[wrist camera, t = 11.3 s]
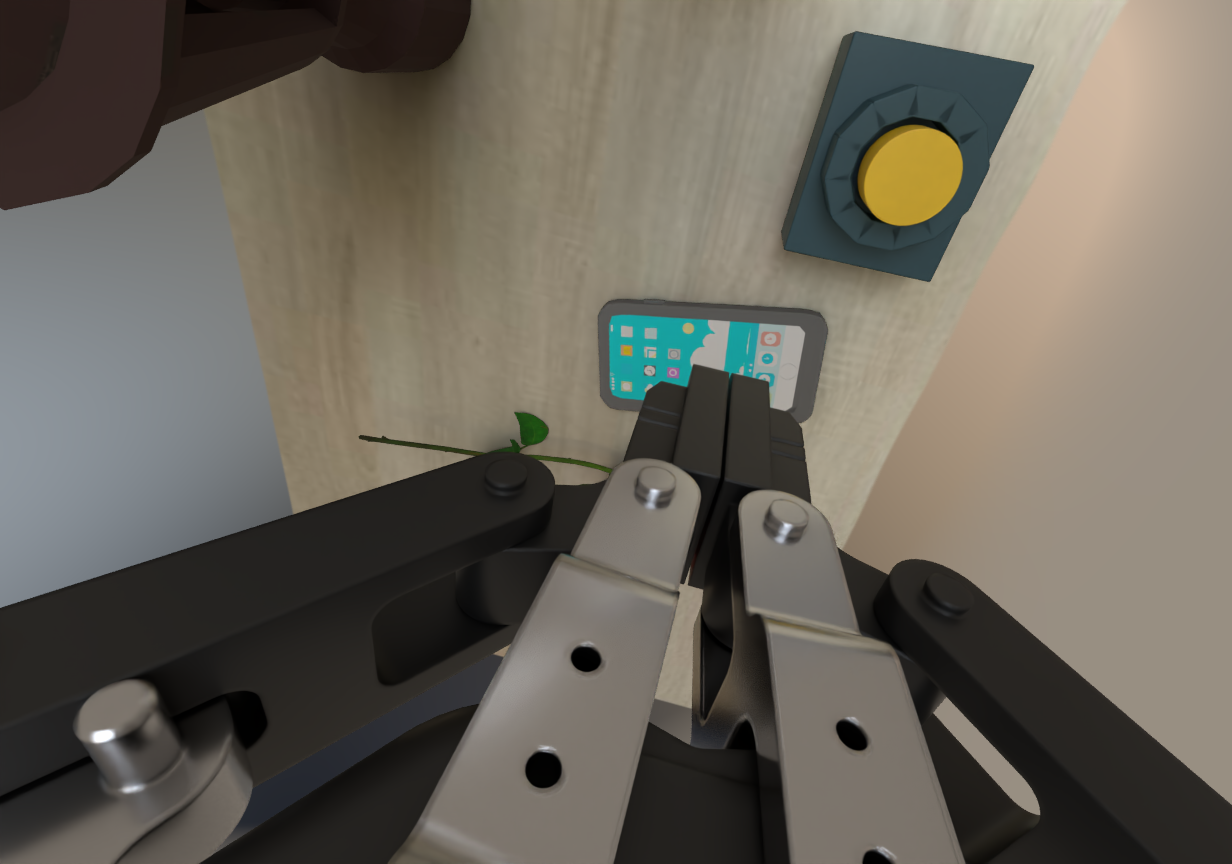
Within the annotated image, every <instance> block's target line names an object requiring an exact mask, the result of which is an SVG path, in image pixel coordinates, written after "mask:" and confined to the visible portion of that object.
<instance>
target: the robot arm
mask: <svg viewBox="0 0 1232 864" xmlns="http://www.w3.org/2000/svg"><path fill="white" fill-rule="evenodd" d="M803 446H804V441H803V434H802V428H801V427H800V426H799V424H798V423H797V422H796V420H795V419H794V418H793V416H792V415H791V414H790V412H788V411H783V410H779V409H775V408H771V407H770V393H769V382H768V381H764V380H760V379H756V378H752V377H748V376H744V375H739V374H735V373H731V375H730V378H729V372H727V371H722V370H718V369H714V368H710V367H706V366H702V365H697V364H693V366H692V370H691V373H690V377H689V381H688V384H687V387H685V386H681V385H677V384H672V383H668V382H664V381H660V382H659V383H658V384H656V385H655V386H653V387H652V388H650V389H649V390H647V392H646V395H645V398H644V401H643V404H642V408H641V410H640V413H639V416H638V420H637V422H636V425H635V428H634V431H633V434H632V437H631V440H630V442H629V445H628V448H627V451H626V454H625V457H624V460H623V462H622V463H621V464H619V465H617V466H616V467H615V468H614V469H613V470H612V472H611V473H610V475H609V478H608V479H607V480H604V481H602V482H599V483H595V484H589V485H555V480H554V476H553V475H552V473H551V471H550V470H549V469H548V468H547V466H545V465H544V464H543V463H542V462H540V461H538V460H537V459H535V458H533V457H530V456H528V455H524V454H521V453H515V452H506V451H503V452H490V453H486V454H482V455H478V456H475V457H472V458H469V459H466V460H463V461H460V462H456V463H453V464H450V465H447V466H444V467H441V468H438V469H434V470H431V471H428V472H425V473H422V474H419V475H416V476H413V477H409V478H406V479H403V480H400V481H397V482H394V483H391V484H387V485H384V486H381V487H378V488H375V489H372V490H369V491H365V492H362V493H359V494H356V495H353V496H350V497H347V498H344V499H340V500H337V501H334V502H331V503H328V504H325V505H322V506H318V507H315V508H312V509H309V510H306V511H303V512H300V513H297V514H293V515H290V516H287V517H284V518H281V519H278V520H275V521H272V522H268V523H265V524H262V525H259V526H256V527H253V528H249V529H246V530H243V531H240V532H237V533H234V534H231V535H228V536H225V537H221V538H218V539H215V540H212V541H209V542H206V543H203V544H200V545H196V546H193V547H190V548H187V549H184V550H181V551H177V552H174V553H171V554H168V555H165V556H162V557H159V558H156V559H152V560H149V561H146V562H143V563H140V564H137V565H134V566H130V567H127V568H124V569H121V570H118V571H115V572H112V573H108V574H105V575H102V576H99V577H96V578H93V579H90V580H87V581H83V582H80V583H77V584H74V585H71V586H68V587H64V588H62V589H59V590H55V591H52V592H49V593H46V594H43V595H40V596H36V597H33V598H30V599H27V600H24V601H21V602H17V603H15V604H11V605H8V606H5V607H2V608H0V864H1232V805H1231V804H1230V803H1229V802H1228V801H1226V800H1225V799H1224V798H1223V797H1222V796H1221V795H1219V794H1218V793H1217V792H1216V791H1215V790H1214V789H1212V788H1211V787H1210V786H1209V785H1208V784H1206V783H1205V782H1204V781H1203V780H1202V779H1201V778H1200V777H1198V776H1197V775H1196V774H1195V773H1194V772H1192V771H1191V770H1190V769H1189V768H1188V767H1187V766H1186V765H1184V764H1183V763H1182V762H1181V761H1180V760H1179V759H1177V758H1176V757H1175V756H1174V755H1173V754H1172V753H1170V752H1169V751H1168V750H1167V749H1166V748H1165V747H1163V746H1162V745H1161V744H1160V743H1159V742H1157V741H1156V740H1155V739H1154V738H1153V737H1152V736H1150V735H1149V734H1148V733H1147V732H1146V731H1145V730H1144V729H1142V728H1141V727H1140V726H1139V725H1138V724H1137V723H1135V722H1134V721H1133V720H1132V719H1131V718H1129V717H1128V716H1127V715H1126V714H1125V713H1124V712H1123V711H1121V710H1120V709H1119V708H1118V707H1117V706H1116V705H1114V704H1113V703H1112V702H1111V701H1110V700H1109V699H1107V698H1106V697H1105V696H1104V695H1103V694H1102V693H1100V692H1099V691H1098V690H1097V689H1096V688H1095V687H1093V686H1092V685H1091V684H1090V683H1089V682H1087V681H1086V680H1085V679H1084V678H1083V677H1082V676H1080V675H1079V674H1078V673H1077V672H1076V671H1075V670H1074V669H1072V668H1071V667H1070V666H1069V665H1068V664H1067V663H1065V662H1064V661H1063V660H1062V659H1061V658H1060V657H1058V656H1057V655H1056V654H1055V653H1054V652H1053V651H1051V650H1050V649H1049V648H1048V647H1047V646H1046V645H1044V644H1043V643H1042V642H1041V641H1040V640H1039V639H1037V638H1036V637H1035V636H1034V635H1033V634H1031V633H1030V632H1029V631H1028V630H1027V629H1026V628H1025V627H1023V626H1022V625H1021V624H1020V623H1019V622H1018V621H1016V620H1015V619H1014V618H1013V617H1012V616H1010V615H1009V614H1008V613H1007V612H1006V611H1005V610H1004V609H1002V608H1001V607H1000V606H999V605H998V604H997V603H995V602H994V601H993V600H992V599H991V598H990V597H988V596H987V595H986V594H985V593H984V592H982V591H981V590H980V589H979V588H978V587H976V585H974V584H973V583H972V582H971V581H969V580H968V579H966V578H965V577H963V576H962V575H960V574H959V573H957V572H955V571H953V570H951V569H949V568H947V567H945V566H943V565H940V564H937V563H934V562H930V561H926V560H919V559H909V560H905V561H901V562H899V563H897V564H896V565H895V566H894V567H893V569H892V570H891V572H890V574H889V575H888V574H886V573H883V572H881V571H880V570H878V569H876V568H873V567H871V566H869V565H867V564H865V563H863V562H861V561H859V560H857V559H855V558H853V557H852V556H850V555H848V554H847V553H845V552H844V551H842V550H841V549H839V548H838V547H837V545H836V541H835V538H834V534H833V531H832V528H831V525H830V524H829V522H828V520H827V519H826V518H825V517H824V515H823V514H822V513H821V512H820V511H819V510H818V509H817V508H815V507H814V506H813V505H812V504H811V496H810V488H809V480H808V473H807V465H806V462H805V459H806V457H805V449H804V448H803ZM690 565H691V566H690ZM689 568H690V574H689V581H688V585H689V586H693V587H696V588H700V589H703V599H702V605H701V608H700V610H699V613H698V616H697V618H696V621H695V624H694V630H693V679H692V728H691V741H690V745H689V744H687V743H685V742H683V741H681V740H680V739H678V738H676V737H674V736H673V735H671V734H669V733H667V732H666V731H664V730H662V729H660V728H659V727H657V726H655V725H653V724H652V723H650V722H649V718H650V713H651V709H652V705H653V701H654V697H655V693H656V689H657V685H658V681H659V677H660V673H661V669H662V665H663V661H664V657H665V653H666V649H667V645H668V641H669V637H670V633H671V629H672V625H673V620H674V616H675V612H676V608H677V604H678V600H679V594H680V592H679V591H678V589H679V585H680V583H681V584H684V583H685V580H686V577H687V574H688V571H689ZM509 644H511V645H510V647H509V649H508V651H507V653H506V655H505V656H504V658H503V660H502V662H501V664H500V666H499V668H498V670H497V672H496V674H495V676H494V677H493V679H492V681H491V683H490V685H489V687H488V689H487V691H486V693H485V695H484V696H483V699H482V701H481V702H480V704H476V705H471V706H467V707H462V708H459V709H456V710H453V711H450V712H447V713H444V714H441V715H439V716H436V717H434V718H432V719H430V720H428V721H426V722H424V723H422V724H419V725H417V726H416V727H414V728H412V729H411V730H409V731H407V732H405V733H404V734H402V735H401V736H399V737H398V738H396V739H394V740H393V741H391V742H390V743H388V744H386V745H385V746H383V747H382V748H380V749H379V750H377V751H375V752H374V753H372V754H371V755H369V756H368V757H366V758H364V759H363V760H362V761H360V762H358V763H356V764H355V765H353V766H352V767H350V768H349V769H347V770H345V771H344V772H342V773H341V774H339V775H338V776H336V777H335V778H333V779H331V780H330V781H328V782H327V783H325V784H323V785H322V786H320V787H319V788H317V789H316V790H314V791H312V792H311V793H309V794H308V795H306V796H305V797H303V798H301V799H300V800H298V801H297V802H295V803H294V804H292V805H290V806H289V807H287V808H286V809H284V810H283V811H281V812H279V813H278V814H276V815H275V816H273V817H271V818H270V819H268V820H267V821H265V822H264V823H262V824H261V825H259V826H258V827H256V828H254V829H253V830H251V831H250V832H248V833H247V834H245V835H243V836H242V837H240V838H239V839H237V840H235V841H234V842H232V843H230V844H229V845H227V846H226V847H224V848H223V849H221V850H220V851H218V852H216V853H215V854H213V855H212V853H213V852H214V851H215V850H216V849H217V848H218V847H219V846H220V845H221V844H222V843H223V842H224V840H226V838H227V837H228V836H229V835H230V834H231V833H232V831H233V830H234V828H235V827H236V825H237V824H238V823H239V821H240V819H241V817H242V815H243V813H244V811H245V810H246V808H247V805H248V802H249V799H250V797H251V792H252V788H254V787H255V786H257V785H259V784H261V783H263V782H264V781H266V780H268V779H270V778H272V777H273V776H275V775H277V774H279V773H281V772H283V771H284V770H286V769H288V768H290V767H291V766H293V765H295V764H297V763H299V762H300V761H302V760H304V759H306V758H307V757H309V756H311V755H313V754H315V753H316V752H318V751H320V750H322V749H324V748H325V747H327V746H329V745H331V744H333V743H334V742H336V741H338V740H339V739H341V738H343V737H345V736H346V735H349V734H350V733H352V732H354V731H356V730H357V729H359V728H361V727H363V726H364V725H366V724H368V723H370V722H372V721H374V720H375V719H377V718H379V717H381V716H383V715H384V714H386V713H388V712H390V711H391V710H393V709H395V708H397V707H398V706H400V705H402V704H404V703H406V702H407V701H409V700H411V699H413V698H415V697H416V696H418V695H420V694H422V693H424V692H425V691H427V690H429V689H431V688H432V687H434V686H436V685H438V684H440V683H441V682H443V681H445V680H447V679H449V678H450V677H452V676H454V675H456V674H457V673H459V672H461V671H463V670H465V669H466V668H468V667H470V666H472V665H474V664H475V663H477V662H479V661H481V660H483V659H484V658H486V657H488V656H489V655H491V654H493V653H495V652H497V651H499V650H500V649H502V648H504V647H506V646H508V645H509ZM946 697H947V698H948V699H949V700H950V701H951V702H952V703H953V704H954V705H955V706H956V707H957V708H958V709H959V710H960V711H961V712H962V713H963V714H964V716H965V717H966V718H967V719H968V720H969V721H970V722H971V723H972V724H973V725H974V726H975V727H976V728H977V729H978V730H979V731H980V733H982V735H983V736H984V737H985V738H986V739H987V740H988V741H989V742H990V743H991V744H992V745H993V746H994V747H995V748H996V749H997V750H998V752H999V753H1000V754H1001V755H1002V756H1003V757H1004V758H1005V759H1006V760H1007V761H1008V762H1009V763H1010V764H1011V765H1012V766H1013V767H1014V768H1015V769H1016V771H1017V772H1018V773H1019V774H1020V775H1021V776H1022V777H1023V778H1024V779H1025V780H1026V782H1027V783H1028V784H1029V786H1030V787H1031V788H1032V790H1033V792H1034V794H1035V795H1036V798H1037V800H1038V803H1039V807H1040V815H1035V814H1032V813H1030V812H1028V811H1026V810H1024V809H1023V808H1021V807H1020V806H1018V805H1017V804H1016V803H1015V802H1014V801H1013V800H1012V799H1011V798H1010V797H1009V796H1008V795H1007V794H1006V793H1005V792H1004V791H1003V790H1002V788H1001V787H1000V786H999V785H998V784H997V783H996V782H995V781H994V780H993V779H992V777H991V776H989V774H988V773H987V772H986V771H985V770H984V769H983V768H982V767H981V765H979V763H978V762H977V761H976V760H975V759H974V758H973V757H972V755H971V754H970V753H969V752H968V751H967V750H966V749H965V748H964V747H963V746H962V744H961V743H960V742H959V741H958V740H957V739H956V738H955V737H954V736H953V735H952V733H951V732H950V731H949V730H948V729H947V728H946V727H945V726H944V725H943V724H942V722H941V721H940V720H939V719H938V718H937V717H936V716H935V715H934V714H933V712H934V711H935V710H936V709H937V707H938V706H939V705H940V704H941V703H942V702H943V700H944V699H945V698H946ZM211 855H212V856H211Z"/></svg>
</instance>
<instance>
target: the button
mask: <svg viewBox="0 0 1232 864" xmlns="http://www.w3.org/2000/svg"><path fill="white" fill-rule="evenodd" d="M962 172H963V161H962V156H961V152H960V150H959V148H958V146H957V144H956V143H955V142H954V141H953V140H952V139H951V138H950V137H949V136H948V135H946V134H945V133H943V132H941V131H938V130H935V129H932V128H929V127H926V126H922V125H906V126H901V127H898V128H895V129H893V130H891V131H889V132H887V133H885V134H884V135H882V136H881V137H880V138H879V139H877V140H876V141H875V142H874V143H873V144H872V145H871V147H870V148H869V149H868V151H867V152H866V154H865V155H864V157H863V159H862V161H861V164H860V167H859V171H858V178H857V184H858V190H859V194H860V196H861V198H862V200H863V202H864V203H865V204H866V206H867V207H868V208H869V209H870V211H871V212H872V213H873V214H874V215H875V216H876V217H877V218H878V219H880V220H881V221H883V222H885V223H888V224H891V225H897V226H908V225H914V224H918V223H921V222H923V221H925V220H928V219H930V218H931V217H933V216H934V215H936V214H937V213H938V212H940V211H941V210H942V209H943V208H944V207H945V206H946V205H947V204H948V203H949V202H950V201H951V199H952V198H953V196H954V195H955V193H956V191H957V189H958V187H959V184H960V181H961V178H962Z"/></svg>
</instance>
